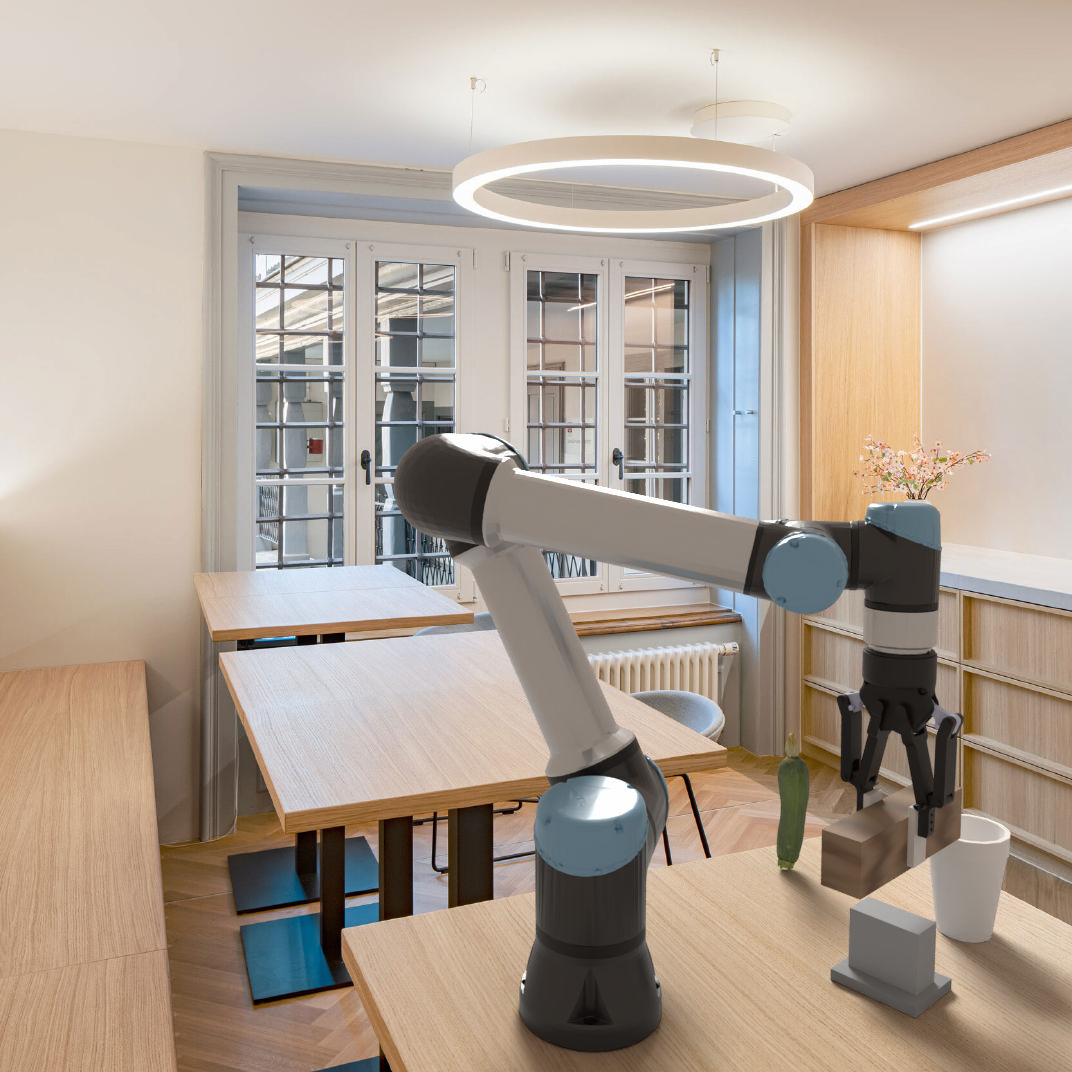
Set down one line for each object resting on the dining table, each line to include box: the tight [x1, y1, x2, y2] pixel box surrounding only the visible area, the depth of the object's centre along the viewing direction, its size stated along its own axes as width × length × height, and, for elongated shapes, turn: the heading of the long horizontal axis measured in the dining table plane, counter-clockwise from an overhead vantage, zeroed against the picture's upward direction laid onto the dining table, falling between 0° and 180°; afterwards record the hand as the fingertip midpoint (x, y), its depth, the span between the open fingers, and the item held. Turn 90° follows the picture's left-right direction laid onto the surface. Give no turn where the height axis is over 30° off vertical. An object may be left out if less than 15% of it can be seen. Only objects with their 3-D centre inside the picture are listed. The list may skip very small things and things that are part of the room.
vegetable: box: [776, 732, 810, 870], centre depth 135 cm, size 4×4×20 cm
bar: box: [820, 784, 963, 901], centre depth 106 cm, size 22×4×6 cm, turn 131°
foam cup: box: [928, 813, 1011, 944], centre depth 119 cm, size 10×9×13 cm
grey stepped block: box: [830, 896, 953, 1019], centre depth 107 cm, size 8×10×8 cm
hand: (893, 855), depth 106 cm, fingers closed on bar, 4 cm apart
